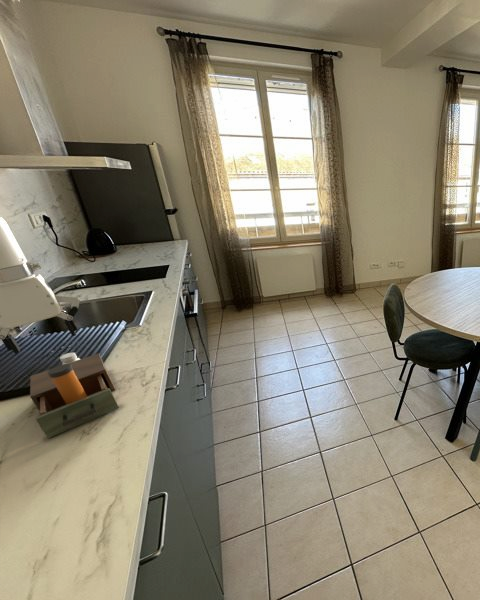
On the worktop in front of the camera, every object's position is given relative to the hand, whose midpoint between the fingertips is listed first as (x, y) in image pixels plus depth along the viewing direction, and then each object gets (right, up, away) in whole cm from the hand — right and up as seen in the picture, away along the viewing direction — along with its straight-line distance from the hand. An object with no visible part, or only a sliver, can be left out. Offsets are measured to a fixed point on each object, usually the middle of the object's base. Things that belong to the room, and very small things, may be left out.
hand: (46, 342), depth 78 cm
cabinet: (-7, -17, +15) cm, 24 cm away
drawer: (+3, -19, +6) cm, 20 cm away
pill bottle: (-16, -14, +24) cm, 32 cm away
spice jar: (+1, -18, +7) cm, 19 cm away
